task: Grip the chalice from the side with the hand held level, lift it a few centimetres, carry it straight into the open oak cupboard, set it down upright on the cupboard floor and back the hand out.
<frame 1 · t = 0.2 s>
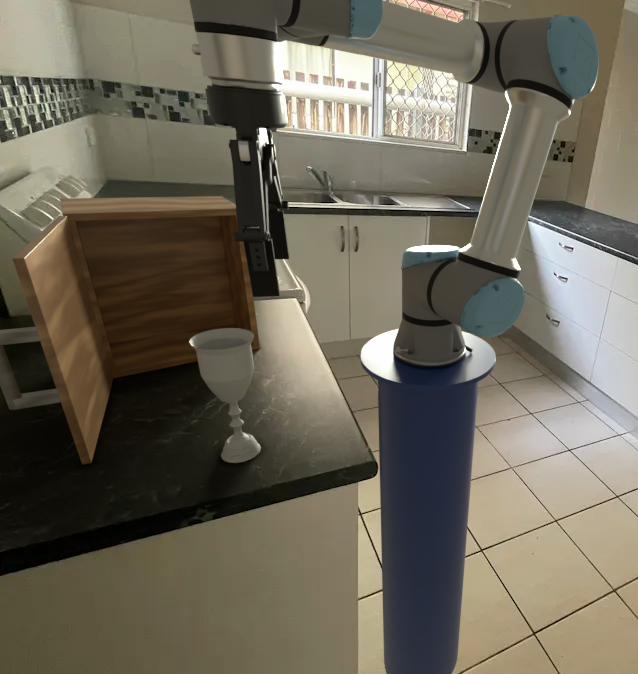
hand: (273, 275, 60), 26 cm above the worktop, tool pointing down, fingers open, 13 cm apart
cabinet door: (49, 335, 65), point 14 cm above the worktop, hinge at 100.0°
chalice: (241, 452, 68), on the worktop
cabinet: (183, 348, 95), on the worktop
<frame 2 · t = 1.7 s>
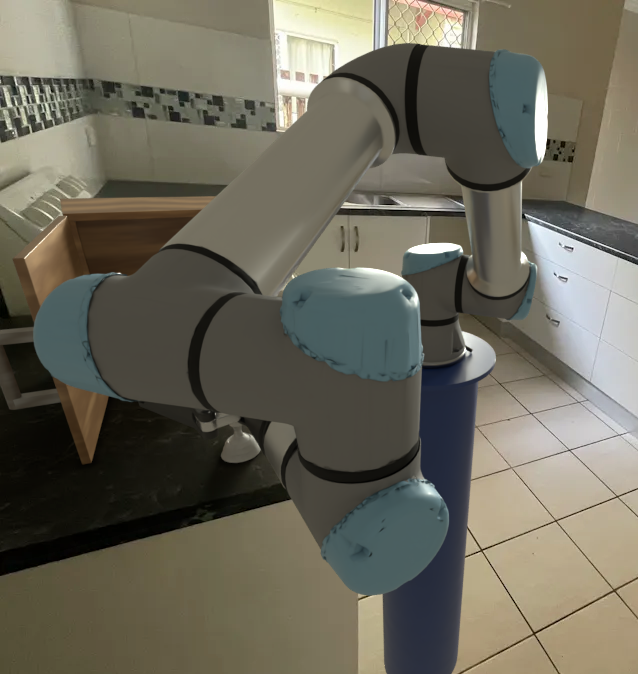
hand: (238, 338, 53), 22 cm above the worktop, tool horizontal, fingers open, 13 cm apart
nothing on the worktop moved.
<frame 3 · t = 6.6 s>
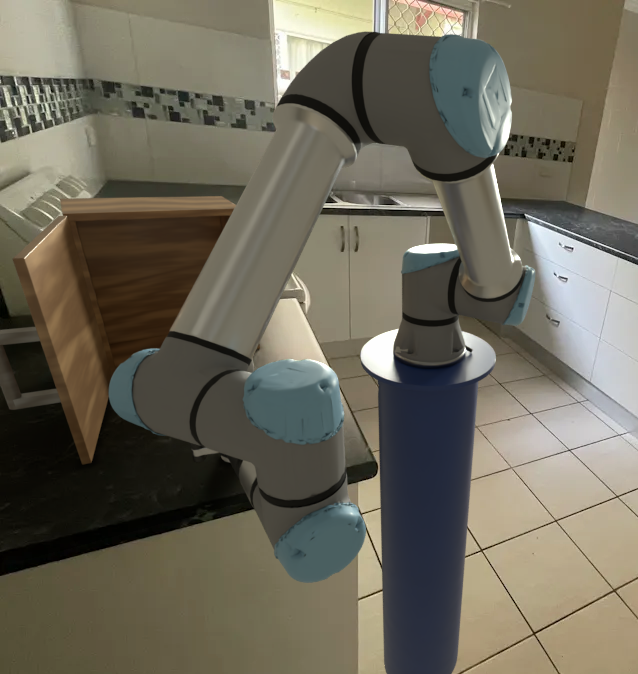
hand: (221, 375, 68), 10 cm above the worktop, tool horizontal, fingers closed on chalice, 5 cm apart
chalice: (241, 452, 68), on the worktop, touching gripper
everything else where it was.
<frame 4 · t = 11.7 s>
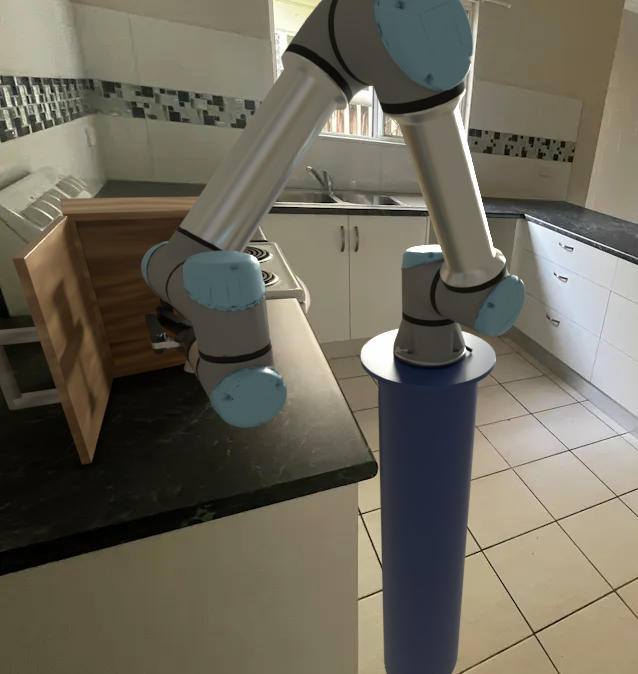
hand: (183, 300, 79), 15 cm above the worktop, tool horizontal, fingers closed on chalice, 5 cm apart
chalice: (201, 366, 80), point 5 cm above the worktop, touching gripper
everything else where it was.
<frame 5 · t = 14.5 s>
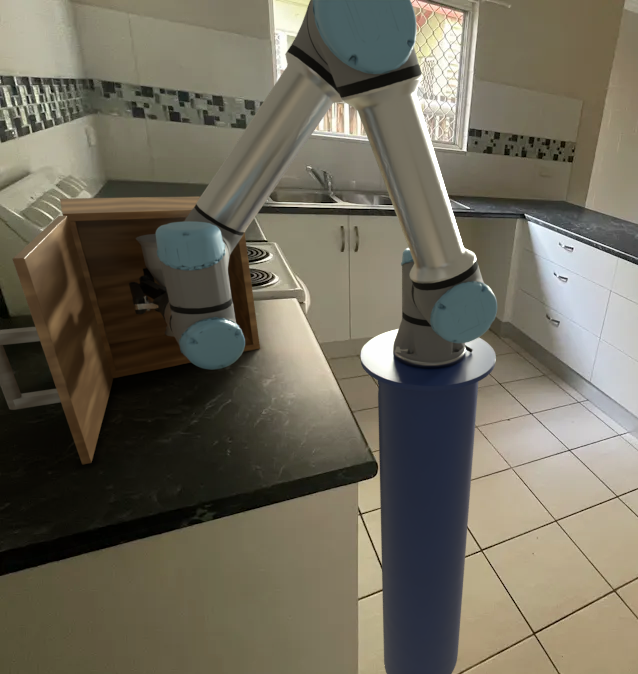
hand: (164, 273, 90), 15 cm above the worktop, tool horizontal, fingers closed on chalice, 5 cm apart
chalice: (180, 332, 91), point 5 cm above the worktop, touching gripper
everything else where it was.
when the fingers open (11 cm above the worktop, at t = 16.7 s): chalice stays where it is, resting on cabinet.
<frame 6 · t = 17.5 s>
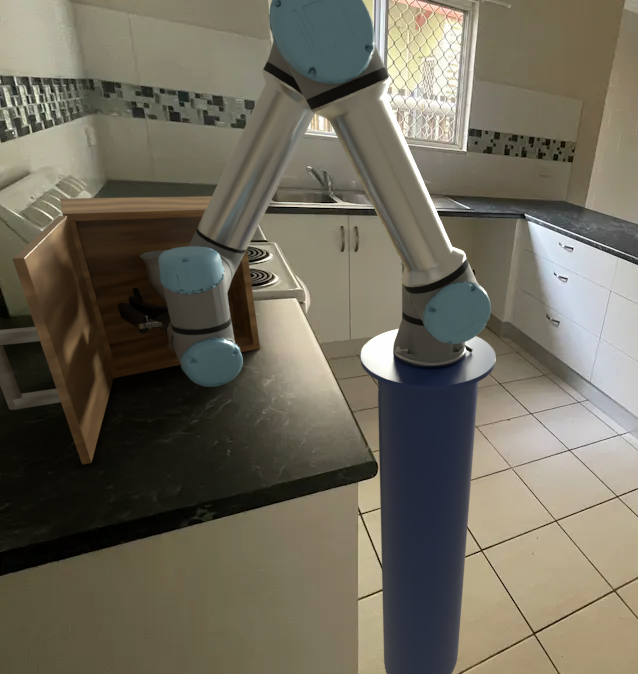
hand: (169, 290, 93), 11 cm above the worktop, tool horizontal, fingers open, 10 cm apart
chalice: (182, 344, 94), point 1 cm above the worktop, touching cabinet
everything else where it was.
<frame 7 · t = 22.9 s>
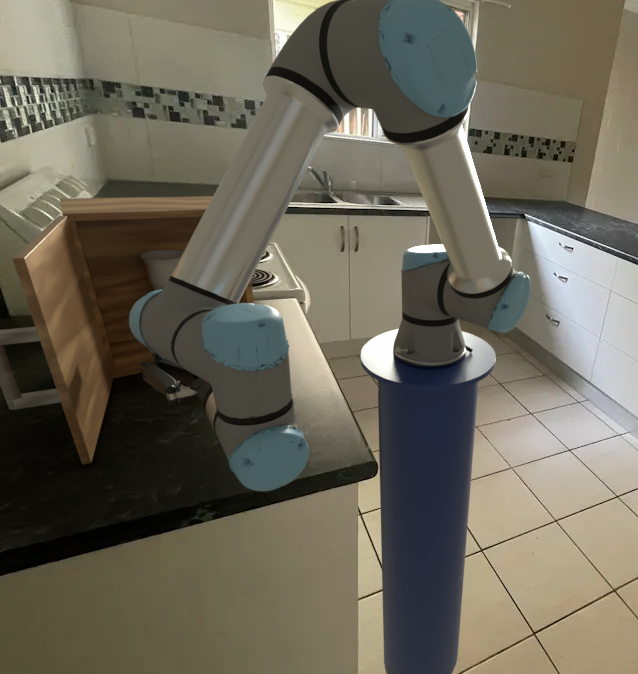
hand: (200, 338, 76), 11 cm above the worktop, tool horizontal, fingers open, 10 cm apart
nothing on the worktop moved.
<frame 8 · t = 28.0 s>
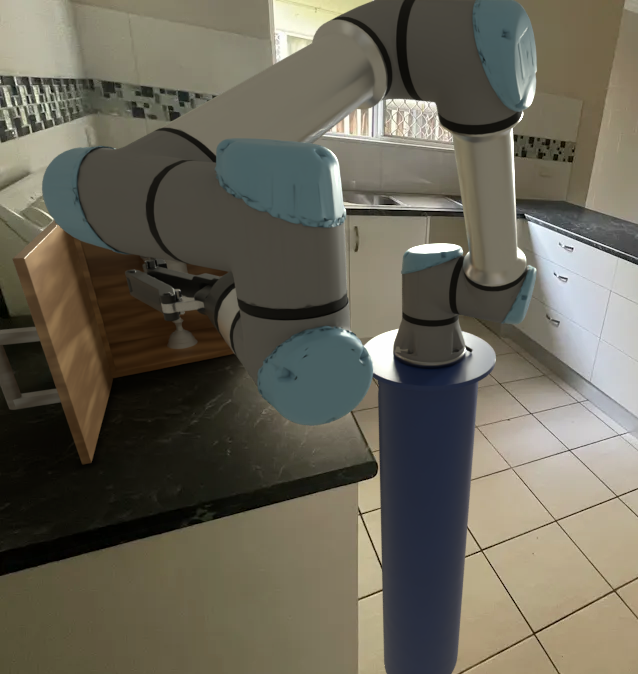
hand: (205, 256, 58), 28 cm above the worktop, tool horizontal, fingers open, 10 cm apart
nothing on the worktop moved.
at the end: chalice inside the target area in the cabinet (0.0 cm from its centre), point 1.0 cm above the cabinet's base; chalice tilted 0°; the gripper is holding nothing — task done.
